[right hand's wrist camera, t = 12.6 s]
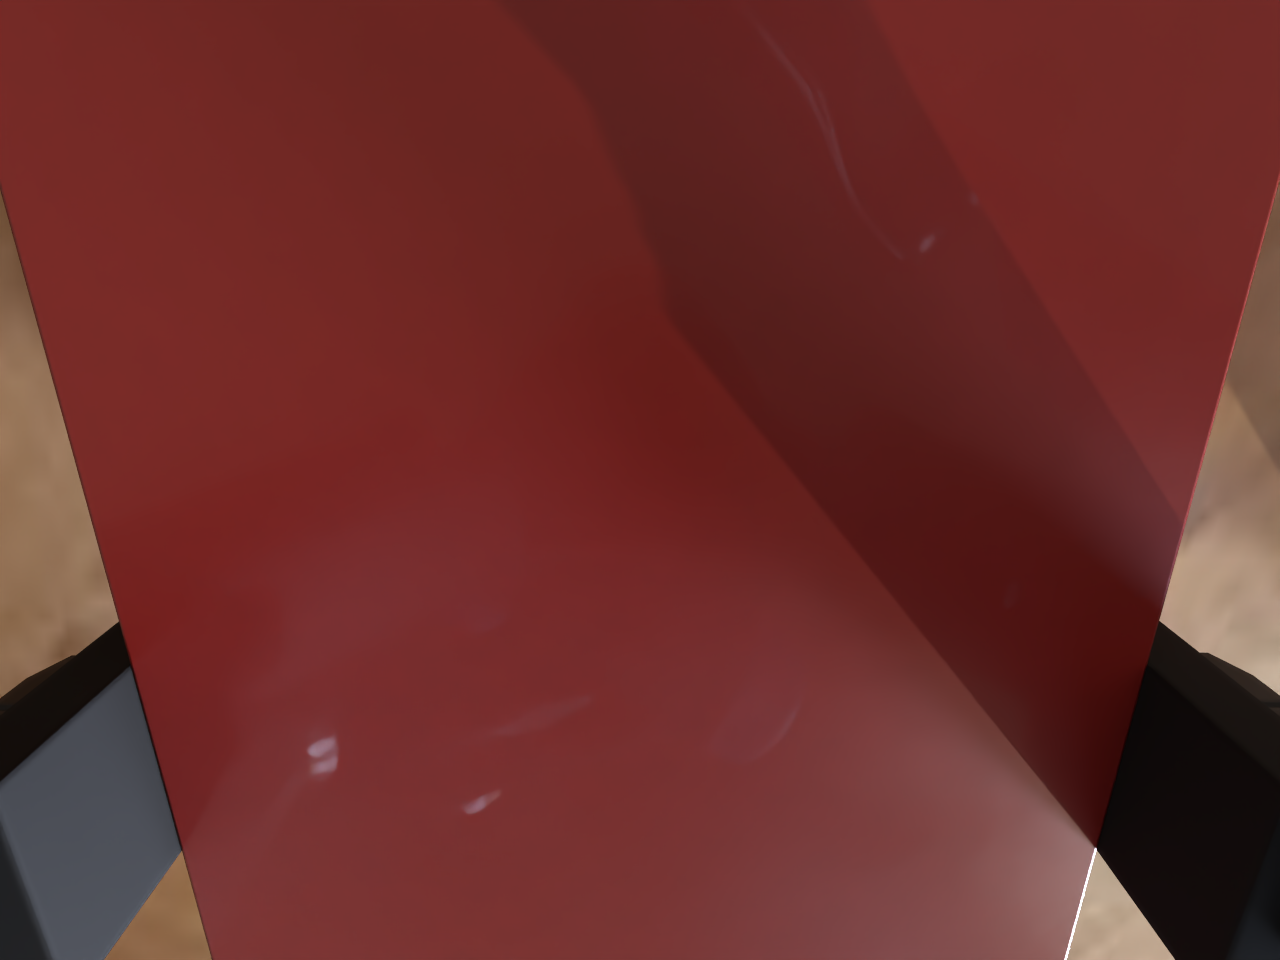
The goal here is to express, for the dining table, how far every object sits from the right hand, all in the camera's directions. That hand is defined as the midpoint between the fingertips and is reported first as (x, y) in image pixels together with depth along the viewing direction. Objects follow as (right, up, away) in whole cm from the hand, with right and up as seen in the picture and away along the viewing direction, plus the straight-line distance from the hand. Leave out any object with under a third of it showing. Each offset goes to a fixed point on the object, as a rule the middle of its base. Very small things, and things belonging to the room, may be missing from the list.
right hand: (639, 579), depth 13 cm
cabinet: (0, +7, +5) cm, 9 cm away
